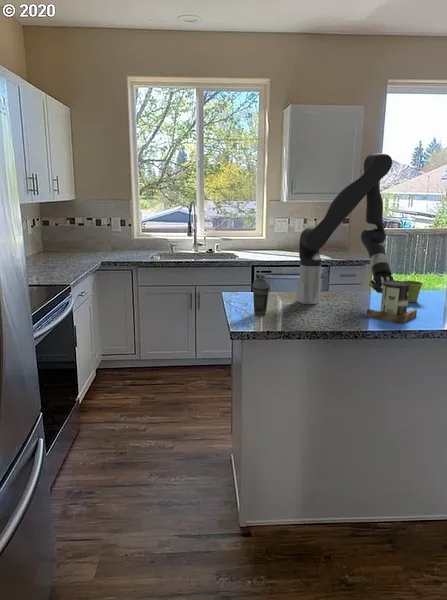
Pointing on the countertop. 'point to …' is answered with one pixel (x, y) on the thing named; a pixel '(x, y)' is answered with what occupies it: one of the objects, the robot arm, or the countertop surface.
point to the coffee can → (395, 297)
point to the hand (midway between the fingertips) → (388, 300)
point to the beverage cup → (260, 295)
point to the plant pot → (414, 290)
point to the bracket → (392, 315)
